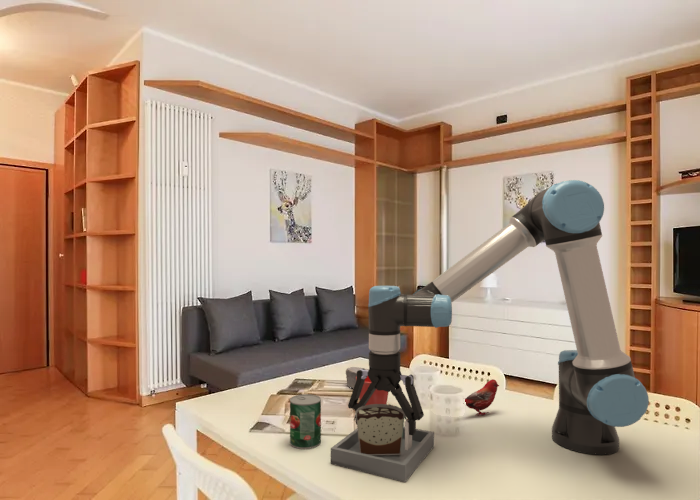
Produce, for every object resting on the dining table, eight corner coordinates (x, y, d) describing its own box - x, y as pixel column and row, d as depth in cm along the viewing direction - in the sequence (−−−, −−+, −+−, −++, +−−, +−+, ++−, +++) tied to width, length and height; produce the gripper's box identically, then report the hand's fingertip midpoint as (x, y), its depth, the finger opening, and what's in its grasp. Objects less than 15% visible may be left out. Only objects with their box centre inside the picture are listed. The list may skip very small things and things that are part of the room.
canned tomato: (327, 443, 113) (327, 399, 113) (301, 452, 108) (301, 406, 108) (308, 433, 119) (308, 392, 119) (283, 441, 114) (283, 398, 114)
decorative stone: (376, 397, 151) (388, 388, 159) (375, 376, 151) (388, 369, 159) (338, 391, 158) (352, 383, 167) (338, 371, 158) (351, 364, 167)
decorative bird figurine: (502, 413, 134) (502, 379, 135) (455, 422, 127) (455, 387, 127) (495, 410, 137) (495, 377, 137) (449, 419, 129) (448, 384, 130)
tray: (434, 446, 111) (434, 431, 111) (405, 482, 94) (405, 465, 94) (368, 432, 120) (368, 419, 120) (330, 463, 102) (330, 448, 102)
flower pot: (349, 411, 136) (349, 378, 137) (365, 400, 146) (365, 370, 146) (381, 416, 132) (381, 383, 132) (395, 405, 141) (395, 374, 141)
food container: (403, 443, 110) (403, 402, 110) (407, 454, 104) (406, 411, 104) (352, 444, 110) (352, 403, 110) (353, 455, 103) (353, 412, 104)
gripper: (437, 352, 105) (437, 446, 104) (348, 343, 116) (348, 428, 115) (427, 359, 98) (427, 459, 98) (333, 349, 109) (334, 439, 109)
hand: (384, 443), depth 107 cm, fingers closed on food container, 11 cm apart
